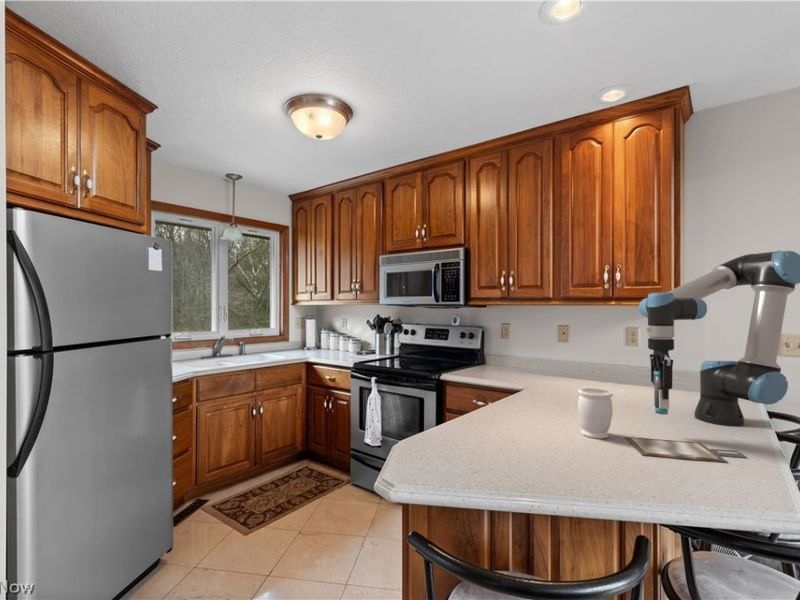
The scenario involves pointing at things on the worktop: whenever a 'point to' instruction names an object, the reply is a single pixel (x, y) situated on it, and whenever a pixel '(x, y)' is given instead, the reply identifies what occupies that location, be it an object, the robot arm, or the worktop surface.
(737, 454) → the grey slotted plate
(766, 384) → the robot arm
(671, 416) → the worktop surface
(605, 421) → the jar
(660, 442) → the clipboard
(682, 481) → the worktop surface
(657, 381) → the grey and teal cylinder
